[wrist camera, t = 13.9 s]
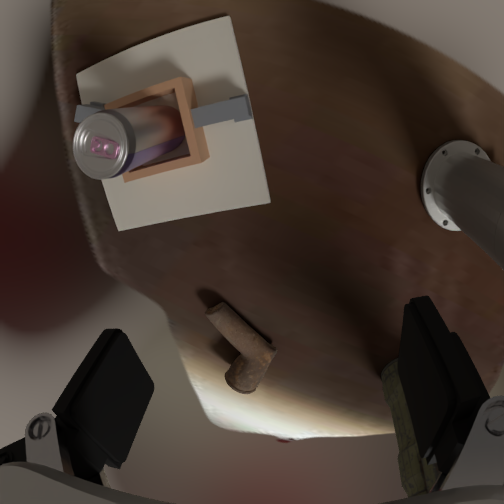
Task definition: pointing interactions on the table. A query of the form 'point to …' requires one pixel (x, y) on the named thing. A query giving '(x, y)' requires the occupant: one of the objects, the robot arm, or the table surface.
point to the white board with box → (194, 121)
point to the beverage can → (125, 139)
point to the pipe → (242, 349)
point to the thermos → (406, 437)
